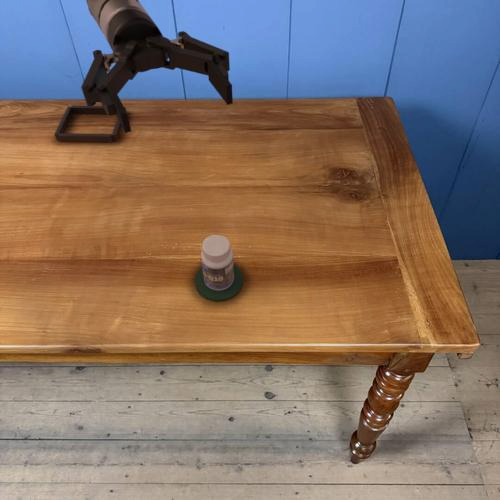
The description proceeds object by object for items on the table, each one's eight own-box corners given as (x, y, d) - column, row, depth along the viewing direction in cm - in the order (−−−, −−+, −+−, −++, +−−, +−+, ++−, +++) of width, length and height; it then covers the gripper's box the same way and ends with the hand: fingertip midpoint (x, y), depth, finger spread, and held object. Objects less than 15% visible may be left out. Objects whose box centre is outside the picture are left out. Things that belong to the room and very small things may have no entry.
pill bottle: (198, 284, 71) (192, 250, 64) (213, 262, 74) (209, 228, 67) (225, 295, 70) (222, 262, 63) (239, 273, 72) (238, 239, 66)
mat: (185, 283, 72) (184, 281, 71) (217, 254, 75) (217, 252, 75) (221, 310, 69) (220, 308, 68) (253, 278, 72) (253, 276, 72)
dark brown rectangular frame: (56, 141, 94) (53, 135, 93) (70, 111, 101) (68, 105, 100) (117, 142, 94) (115, 136, 93) (127, 112, 101) (125, 105, 99)
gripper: (210, 40, 75) (268, 109, 63) (56, 76, 69) (87, 160, 57) (206, -8, 69) (270, 56, 57) (37, 26, 63) (68, 107, 51)
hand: (179, 108), depth 57 cm, fingers open, 13 cm apart
